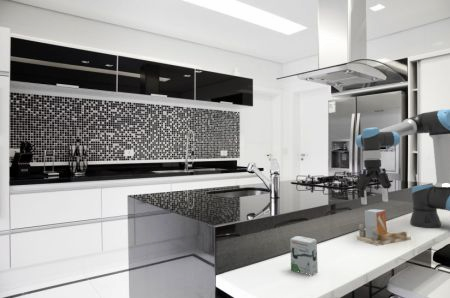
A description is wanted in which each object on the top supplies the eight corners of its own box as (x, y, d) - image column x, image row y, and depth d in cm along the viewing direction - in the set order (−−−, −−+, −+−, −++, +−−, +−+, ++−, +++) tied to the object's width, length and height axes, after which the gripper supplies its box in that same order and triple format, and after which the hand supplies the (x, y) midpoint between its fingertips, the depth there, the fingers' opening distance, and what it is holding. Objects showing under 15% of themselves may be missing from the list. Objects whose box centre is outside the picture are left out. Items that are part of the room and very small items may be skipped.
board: (389, 234, 161) (388, 219, 161) (411, 239, 150) (410, 224, 150) (356, 239, 153) (355, 224, 154) (376, 245, 142) (376, 229, 142)
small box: (377, 240, 145) (376, 212, 145) (365, 237, 150) (364, 210, 151) (387, 237, 149) (386, 210, 150) (374, 234, 155) (373, 208, 155)
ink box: (290, 270, 114) (289, 238, 114) (297, 266, 118) (296, 235, 118) (311, 276, 108) (310, 242, 108) (318, 272, 111) (317, 239, 112)
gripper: (385, 158, 159) (387, 199, 158) (346, 160, 150) (349, 204, 150) (397, 158, 152) (400, 201, 151) (358, 160, 143) (360, 206, 143)
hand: (374, 202), depth 150 cm, fingers open, 13 cm apart
